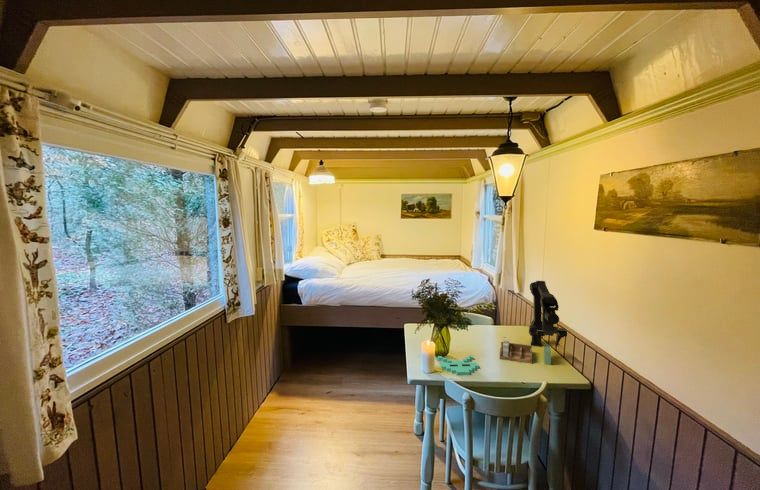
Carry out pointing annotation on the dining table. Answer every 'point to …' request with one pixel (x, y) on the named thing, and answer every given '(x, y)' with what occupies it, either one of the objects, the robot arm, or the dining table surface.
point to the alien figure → (459, 365)
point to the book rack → (515, 352)
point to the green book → (547, 354)
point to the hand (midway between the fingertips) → (547, 345)
